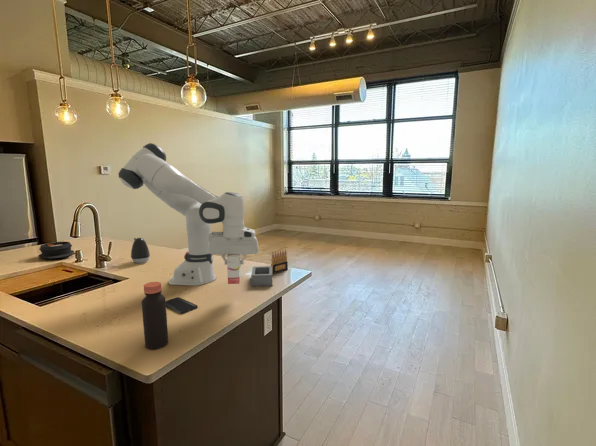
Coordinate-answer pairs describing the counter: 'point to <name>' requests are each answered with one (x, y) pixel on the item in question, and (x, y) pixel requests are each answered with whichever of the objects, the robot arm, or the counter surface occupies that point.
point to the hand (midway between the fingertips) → (234, 264)
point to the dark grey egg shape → (139, 251)
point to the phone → (180, 305)
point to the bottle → (154, 316)
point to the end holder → (261, 276)
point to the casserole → (56, 250)
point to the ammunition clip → (279, 262)
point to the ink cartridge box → (233, 268)
